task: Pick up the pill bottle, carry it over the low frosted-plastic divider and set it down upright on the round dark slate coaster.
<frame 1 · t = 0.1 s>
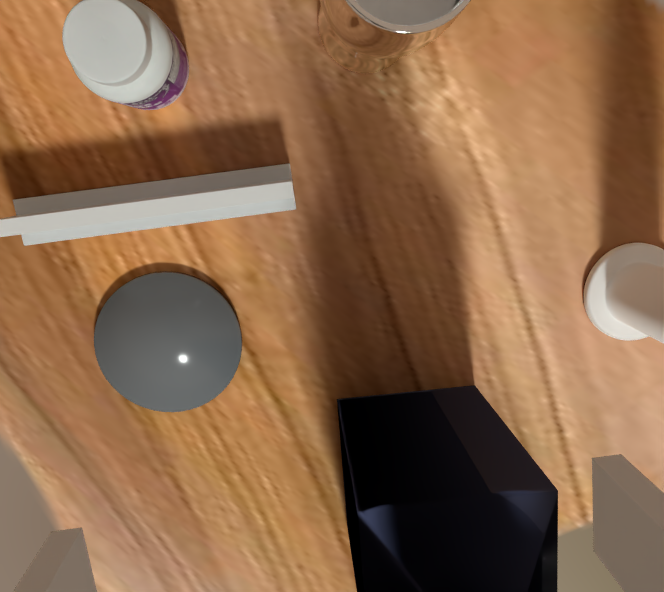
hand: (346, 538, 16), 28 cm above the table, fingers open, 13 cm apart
candle: (628, 290, 44), on the table
beer glass: (365, 24, 39), on the table
coaster: (170, 341, 43), on the table
pill bottle: (149, 68, 39), on the table
divider: (158, 204, 41), on the table
vase: (411, 461, 46), on the table
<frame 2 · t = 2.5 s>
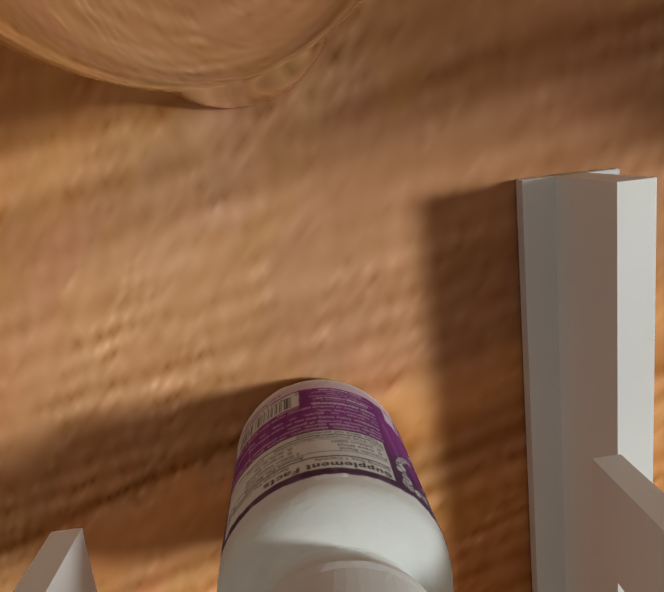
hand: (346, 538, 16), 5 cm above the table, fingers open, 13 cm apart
pill bottle: (318, 446, 20), on the table
divider: (569, 441, 21), on the table
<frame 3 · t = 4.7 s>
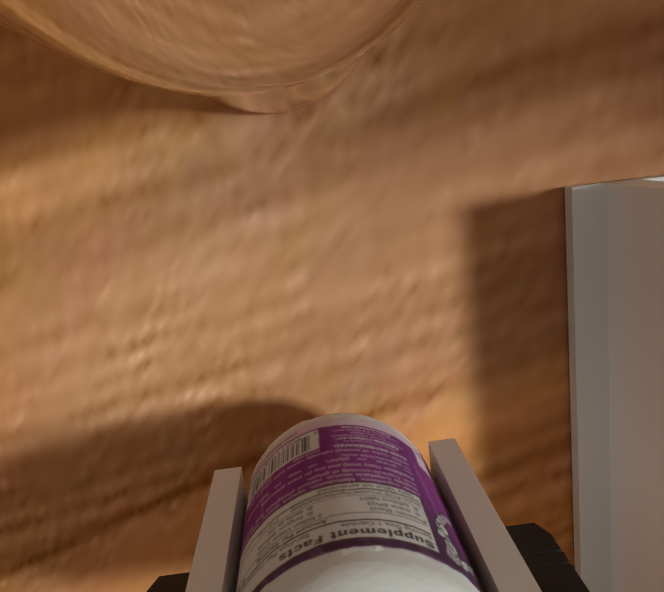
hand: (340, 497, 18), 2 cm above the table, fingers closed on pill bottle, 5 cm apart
pill bottle: (339, 487, 18), point 2 cm above the table, touching gripper
divider: (617, 460, 20), on the table
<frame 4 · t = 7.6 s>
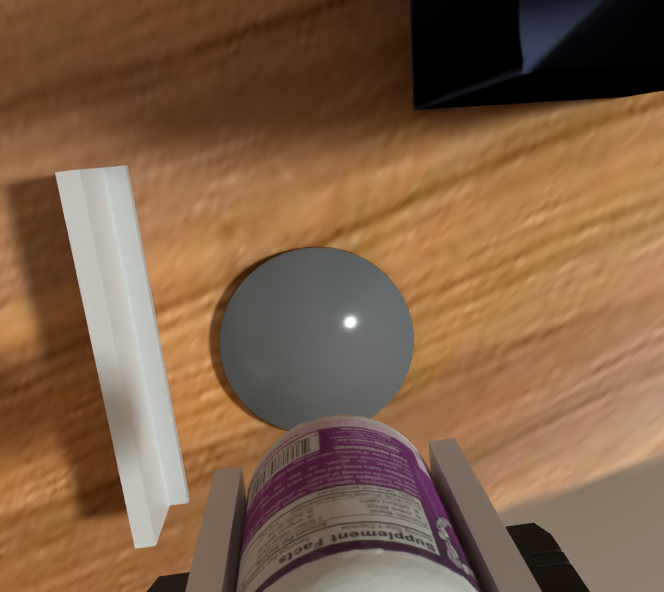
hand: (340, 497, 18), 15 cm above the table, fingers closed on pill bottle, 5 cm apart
coaster: (317, 341, 32), on the table
pill bottle: (339, 488, 18), point 15 cm above the table, touching gripper
divider: (131, 346, 32), on the table
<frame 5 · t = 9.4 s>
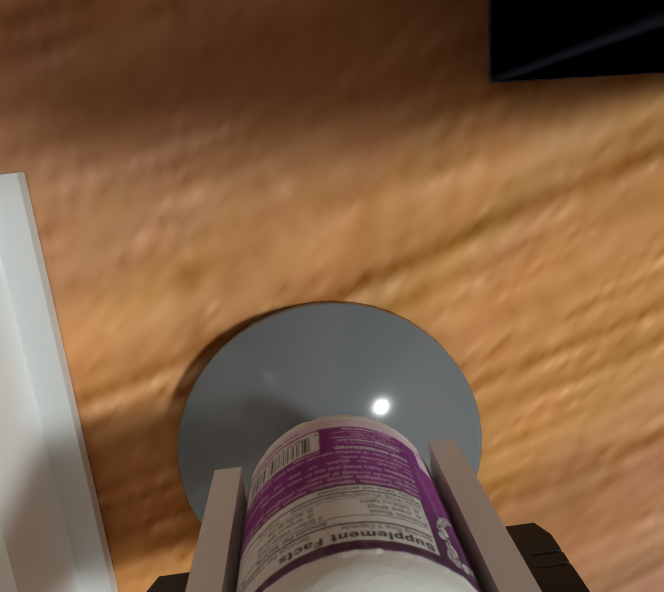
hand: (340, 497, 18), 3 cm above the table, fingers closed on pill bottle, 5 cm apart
coaster: (330, 444, 21), on the table
pill bottle: (339, 488, 18), point 3 cm above the table, touching gripper
divider: (40, 455, 20), on the table
when the fingers open (2 cm above the table, at t = 10.5 s): pill bottle stays where it is, resting on coaster.
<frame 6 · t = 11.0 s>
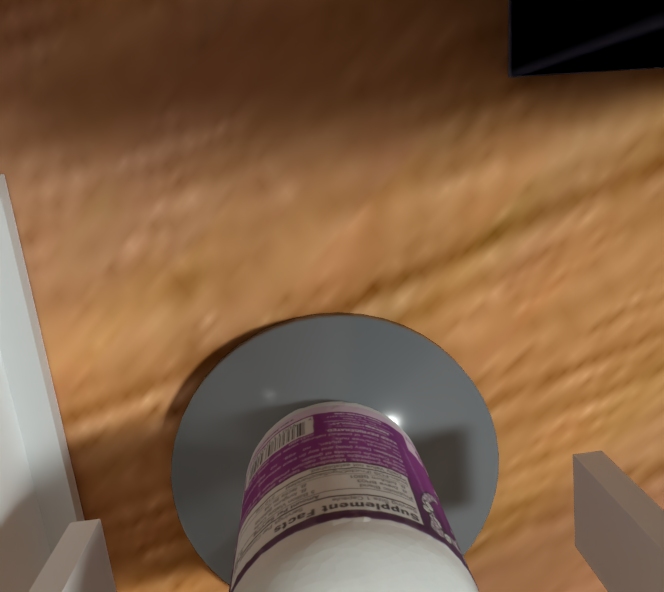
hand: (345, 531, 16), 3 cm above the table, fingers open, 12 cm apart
coaster: (336, 466, 19), on the table
pill bottle: (333, 473, 19), resting on coaster
divider: (23, 478, 19), on the table
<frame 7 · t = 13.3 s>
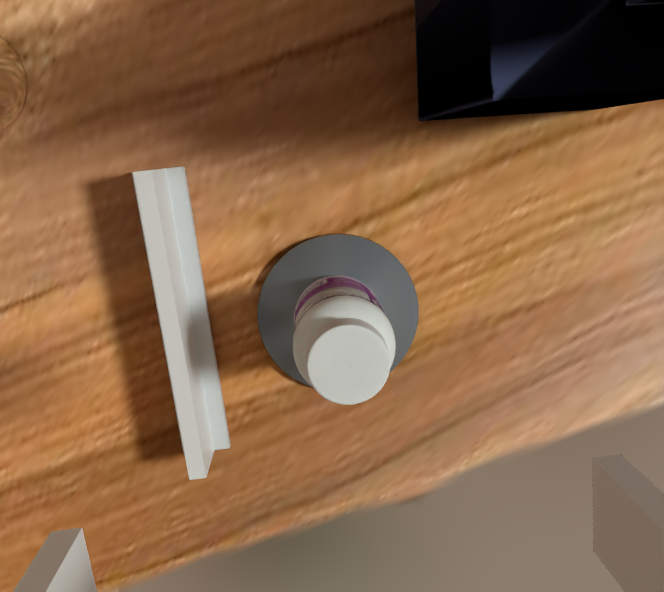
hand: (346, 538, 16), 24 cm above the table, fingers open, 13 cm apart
coaster: (338, 312, 39), on the table
pill bottle: (336, 314, 38), resting on coaster
divider: (184, 315, 38), on the table
vase: (513, 20, 36), on the table
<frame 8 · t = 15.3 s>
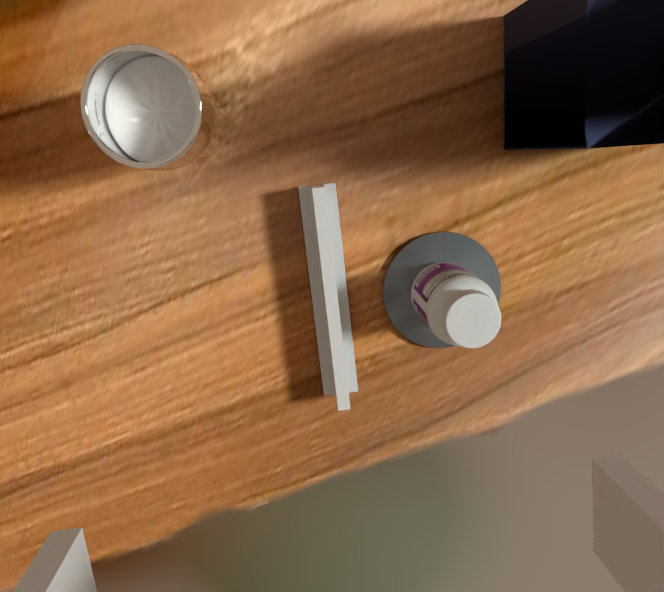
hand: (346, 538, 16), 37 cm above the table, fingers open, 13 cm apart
beer glass: (187, 121, 48), on the table
coaster: (440, 289, 52), on the table
pill bottle: (440, 290, 52), resting on coaster
divider: (329, 292, 52), on the table
vase: (572, 78, 49), on the table
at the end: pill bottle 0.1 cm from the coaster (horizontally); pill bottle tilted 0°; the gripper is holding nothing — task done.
